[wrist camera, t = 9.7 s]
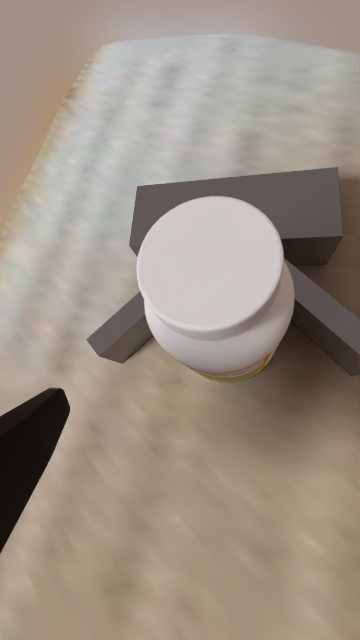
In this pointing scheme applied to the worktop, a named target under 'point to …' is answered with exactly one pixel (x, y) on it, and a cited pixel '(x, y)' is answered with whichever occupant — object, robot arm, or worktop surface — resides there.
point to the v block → (298, 245)
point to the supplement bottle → (216, 287)
